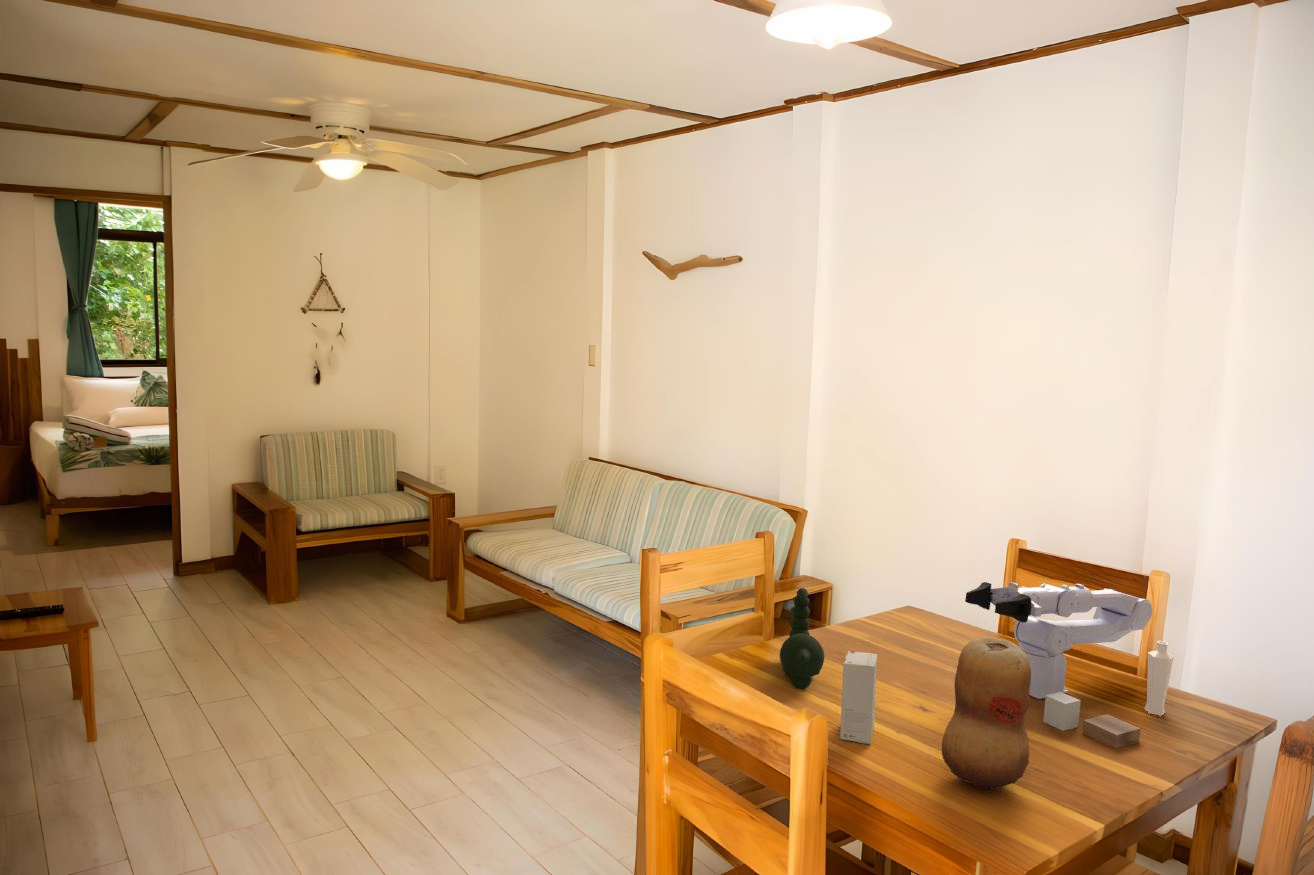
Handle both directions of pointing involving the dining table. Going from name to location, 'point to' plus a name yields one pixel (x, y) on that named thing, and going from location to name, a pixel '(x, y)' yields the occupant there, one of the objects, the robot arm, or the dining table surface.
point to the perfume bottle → (1158, 678)
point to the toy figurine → (801, 645)
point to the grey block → (1061, 711)
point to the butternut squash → (989, 714)
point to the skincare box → (858, 697)
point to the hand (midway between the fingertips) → (981, 602)
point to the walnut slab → (1111, 731)
